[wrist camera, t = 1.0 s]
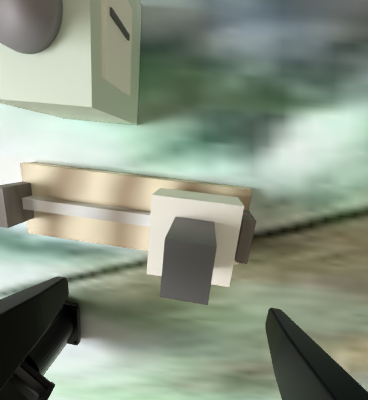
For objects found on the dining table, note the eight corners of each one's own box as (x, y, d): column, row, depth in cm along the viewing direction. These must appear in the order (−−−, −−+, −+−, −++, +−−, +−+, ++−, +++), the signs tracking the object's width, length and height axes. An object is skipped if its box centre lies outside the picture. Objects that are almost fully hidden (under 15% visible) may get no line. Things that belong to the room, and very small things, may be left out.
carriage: (235, 194, 18) (258, 226, 10) (224, 259, 20) (236, 330, 12) (163, 185, 19) (132, 209, 11) (158, 249, 21) (128, 310, 13)
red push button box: (141, 125, 19) (93, 105, 11) (63, 118, 20) (-37, 94, 12) (146, 5, 17) (89, -137, 9) (57, 1, 18) (-76, -133, 9)
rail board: (248, 187, 20) (260, 197, 15) (235, 257, 22) (243, 283, 17) (32, 162, 22) (-11, 164, 17) (38, 228, 24) (1, 244, 19)
